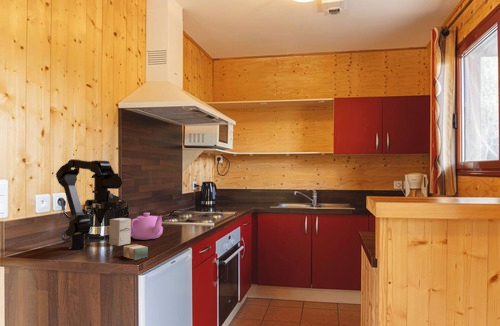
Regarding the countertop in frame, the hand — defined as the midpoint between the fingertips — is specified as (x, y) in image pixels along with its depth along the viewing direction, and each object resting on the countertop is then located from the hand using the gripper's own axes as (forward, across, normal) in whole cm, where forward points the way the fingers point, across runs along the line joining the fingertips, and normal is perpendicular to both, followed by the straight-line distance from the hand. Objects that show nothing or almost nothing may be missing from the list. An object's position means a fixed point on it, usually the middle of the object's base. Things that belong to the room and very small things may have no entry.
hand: (100, 222), depth 164 cm
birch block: (+11, -15, -6) cm, 20 cm away
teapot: (+13, +12, -34) cm, 38 cm away
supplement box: (+13, +10, -15) cm, 22 cm away
